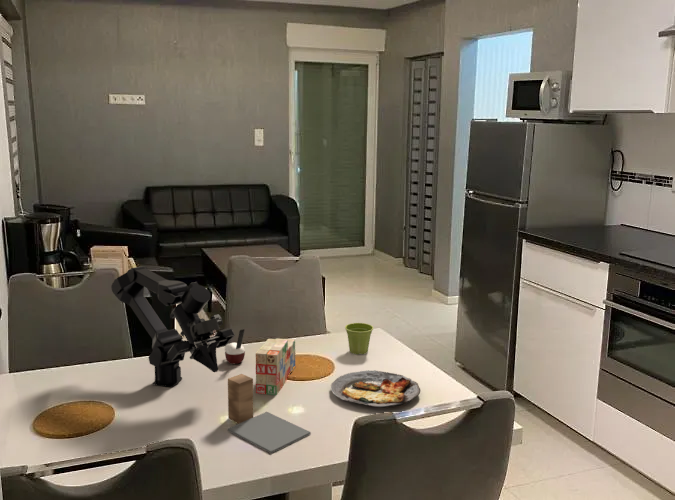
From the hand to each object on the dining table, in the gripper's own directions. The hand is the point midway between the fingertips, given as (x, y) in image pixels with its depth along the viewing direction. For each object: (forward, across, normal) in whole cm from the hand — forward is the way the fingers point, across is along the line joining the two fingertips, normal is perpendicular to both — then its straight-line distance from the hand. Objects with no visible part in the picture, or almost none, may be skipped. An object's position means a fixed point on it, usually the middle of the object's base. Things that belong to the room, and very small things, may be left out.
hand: (216, 371), depth 169 cm
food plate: (+25, +37, -10) cm, 46 cm away
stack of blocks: (+6, +24, +9) cm, 26 cm away
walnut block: (+14, 0, 0) cm, 14 cm away
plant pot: (+7, +59, +7) cm, 60 cm away
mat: (+22, 0, -7) cm, 23 cm away
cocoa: (-8, +24, +22) cm, 34 cm away
